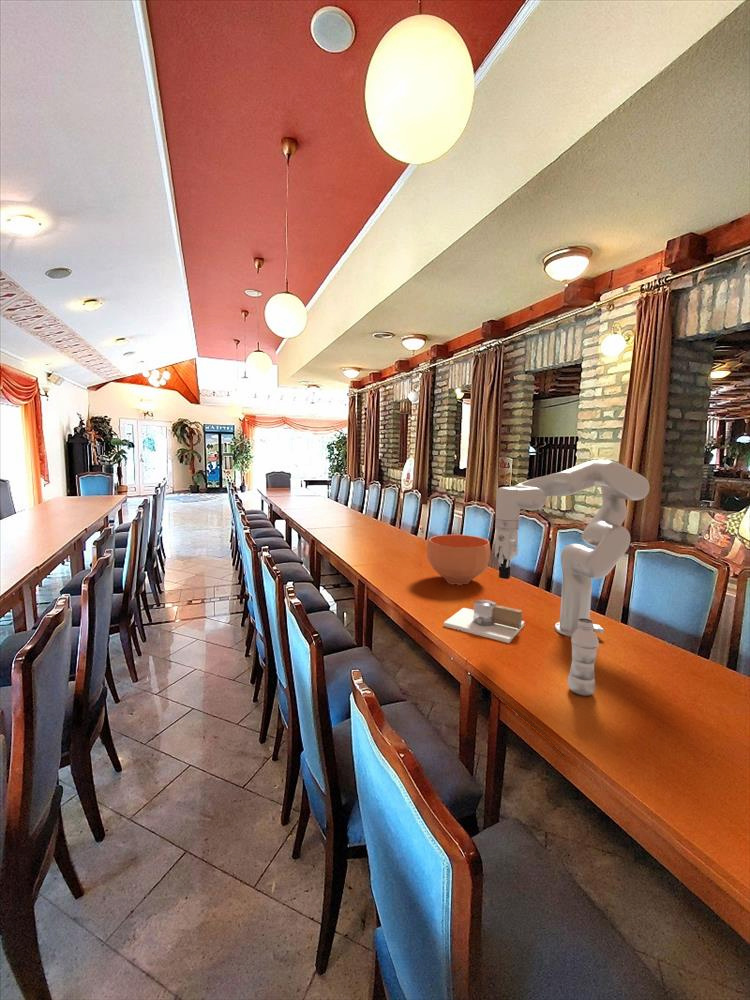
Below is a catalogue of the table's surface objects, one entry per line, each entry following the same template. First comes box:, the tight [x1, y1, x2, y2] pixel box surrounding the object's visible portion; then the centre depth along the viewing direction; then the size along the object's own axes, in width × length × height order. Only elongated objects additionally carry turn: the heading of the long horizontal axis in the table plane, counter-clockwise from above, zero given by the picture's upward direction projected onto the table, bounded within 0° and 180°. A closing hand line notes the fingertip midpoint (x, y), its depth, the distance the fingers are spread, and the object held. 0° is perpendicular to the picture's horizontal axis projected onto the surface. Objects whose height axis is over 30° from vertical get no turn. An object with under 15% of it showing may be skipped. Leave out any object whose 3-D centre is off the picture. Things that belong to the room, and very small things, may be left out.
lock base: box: [443, 607, 525, 644], centre depth 158 cm, size 24×18×2 cm
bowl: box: [426, 534, 492, 586], centre depth 210 cm, size 30×30×20 cm
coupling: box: [473, 599, 523, 629], centre depth 155 cm, size 17×10×7 cm, turn 55°
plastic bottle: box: [567, 618, 599, 696], centre depth 114 cm, size 6×7×20 cm
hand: (504, 577), depth 145 cm, fingers closed
